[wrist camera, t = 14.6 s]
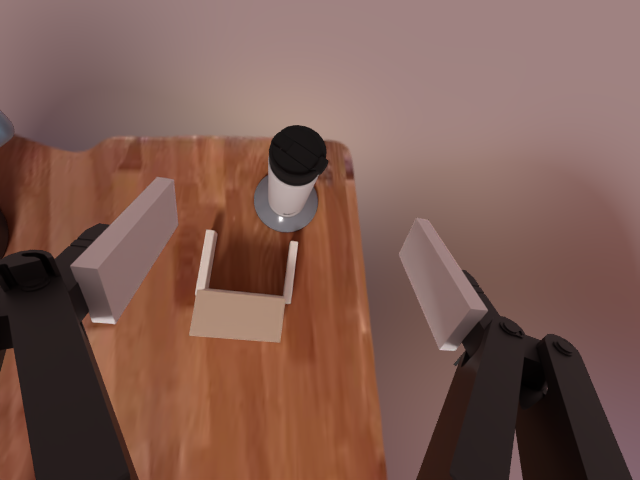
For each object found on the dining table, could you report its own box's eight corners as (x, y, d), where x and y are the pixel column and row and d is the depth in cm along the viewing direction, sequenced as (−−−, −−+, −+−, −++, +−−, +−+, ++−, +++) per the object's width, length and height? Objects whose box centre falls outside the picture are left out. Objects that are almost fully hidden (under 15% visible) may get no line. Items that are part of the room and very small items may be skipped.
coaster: (243, 187, 49) (242, 185, 49) (299, 162, 52) (299, 160, 51) (272, 243, 49) (272, 242, 48) (327, 215, 51) (328, 214, 51)
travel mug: (292, 226, 49) (308, 190, 30) (260, 203, 49) (256, 152, 29) (312, 198, 50) (341, 146, 31) (282, 176, 50) (291, 109, 31)
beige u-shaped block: (210, 232, 47) (199, 223, 40) (296, 244, 50) (301, 237, 42) (193, 326, 45) (179, 334, 37) (285, 333, 47) (288, 343, 40)
